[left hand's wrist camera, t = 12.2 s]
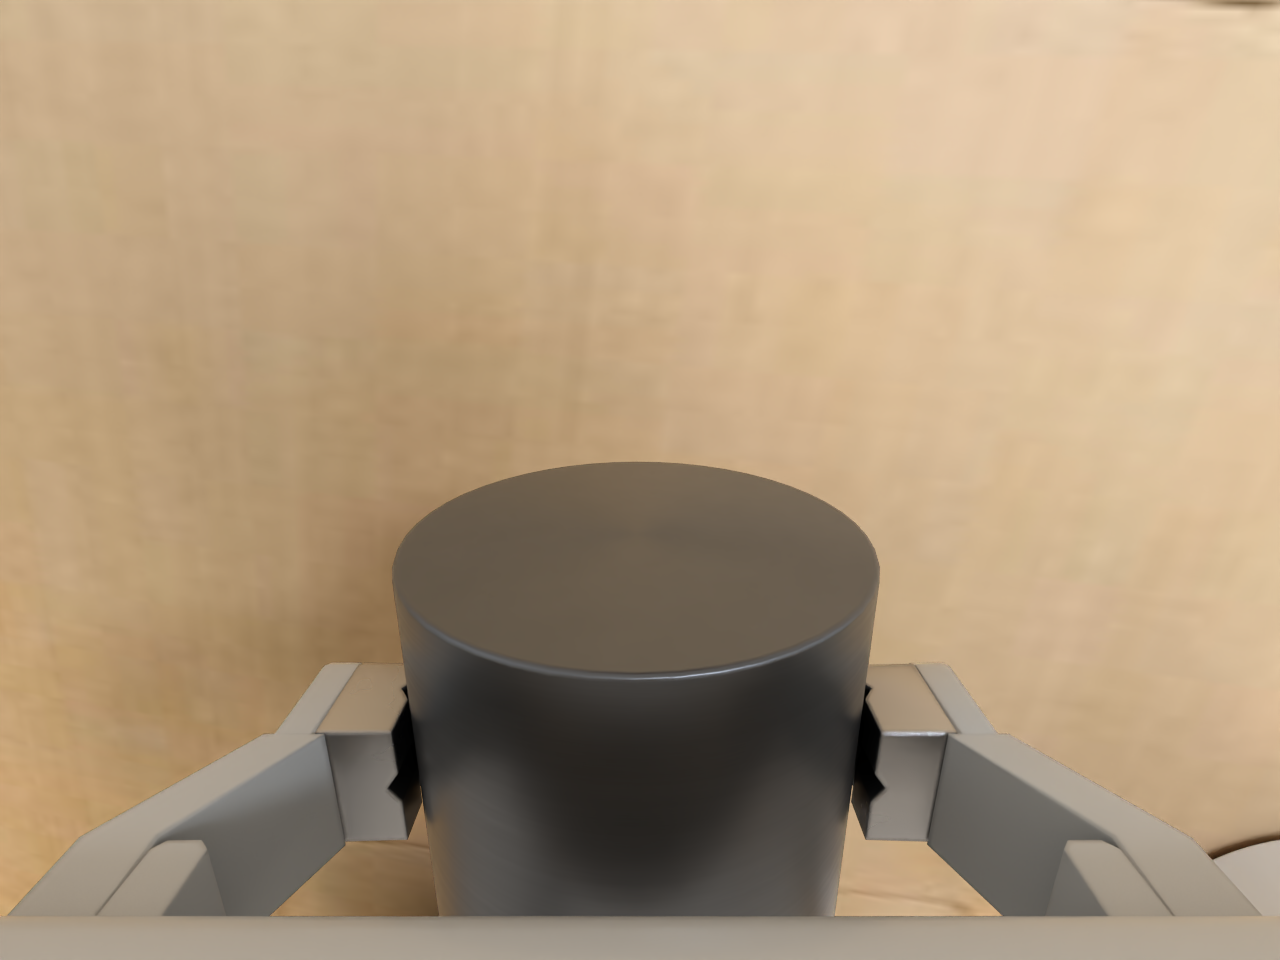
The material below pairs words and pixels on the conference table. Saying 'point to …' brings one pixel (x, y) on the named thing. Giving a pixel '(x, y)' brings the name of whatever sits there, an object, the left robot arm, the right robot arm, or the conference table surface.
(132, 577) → the conference table surface
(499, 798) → the rod
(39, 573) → the conference table surface
